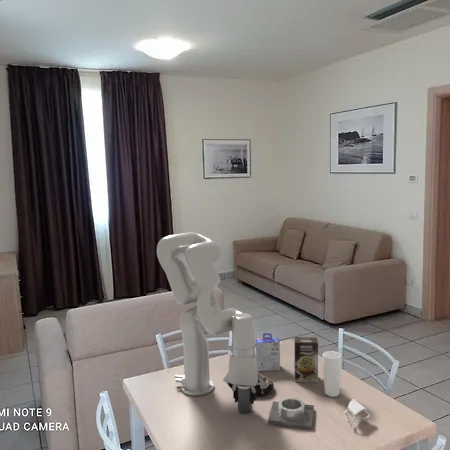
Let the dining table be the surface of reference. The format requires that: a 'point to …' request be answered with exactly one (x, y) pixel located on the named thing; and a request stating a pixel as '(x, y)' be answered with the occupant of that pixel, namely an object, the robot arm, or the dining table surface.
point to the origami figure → (356, 410)
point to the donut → (265, 387)
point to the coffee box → (306, 359)
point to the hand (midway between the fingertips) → (244, 400)
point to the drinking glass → (332, 372)
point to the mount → (291, 414)
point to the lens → (244, 399)
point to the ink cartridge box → (268, 353)
